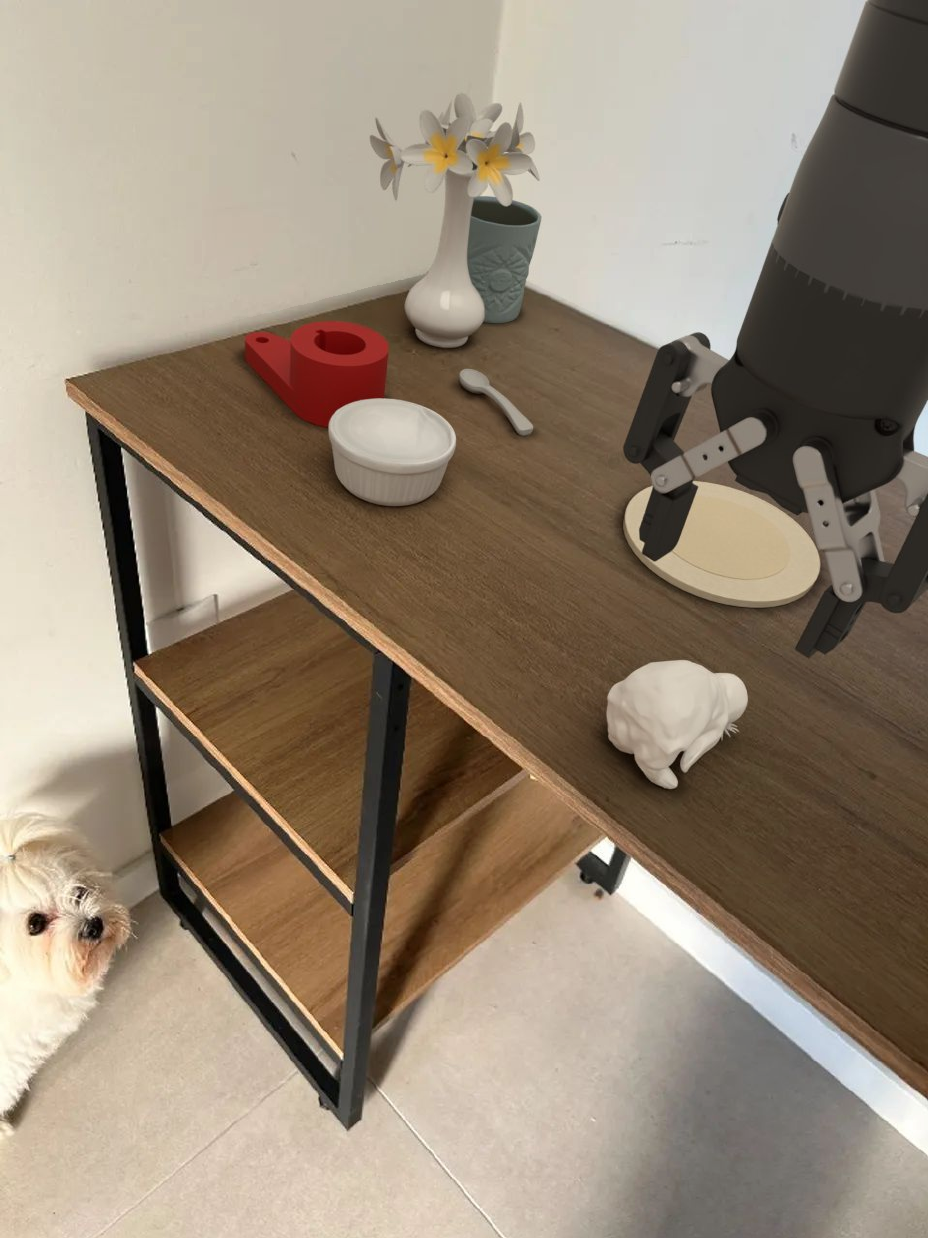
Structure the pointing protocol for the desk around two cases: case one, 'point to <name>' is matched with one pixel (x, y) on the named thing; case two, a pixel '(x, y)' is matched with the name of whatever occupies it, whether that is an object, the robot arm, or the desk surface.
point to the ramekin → (390, 450)
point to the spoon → (495, 399)
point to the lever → (321, 366)
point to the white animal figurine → (672, 715)
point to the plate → (732, 549)
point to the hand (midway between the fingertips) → (730, 597)
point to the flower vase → (456, 205)
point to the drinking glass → (501, 254)
